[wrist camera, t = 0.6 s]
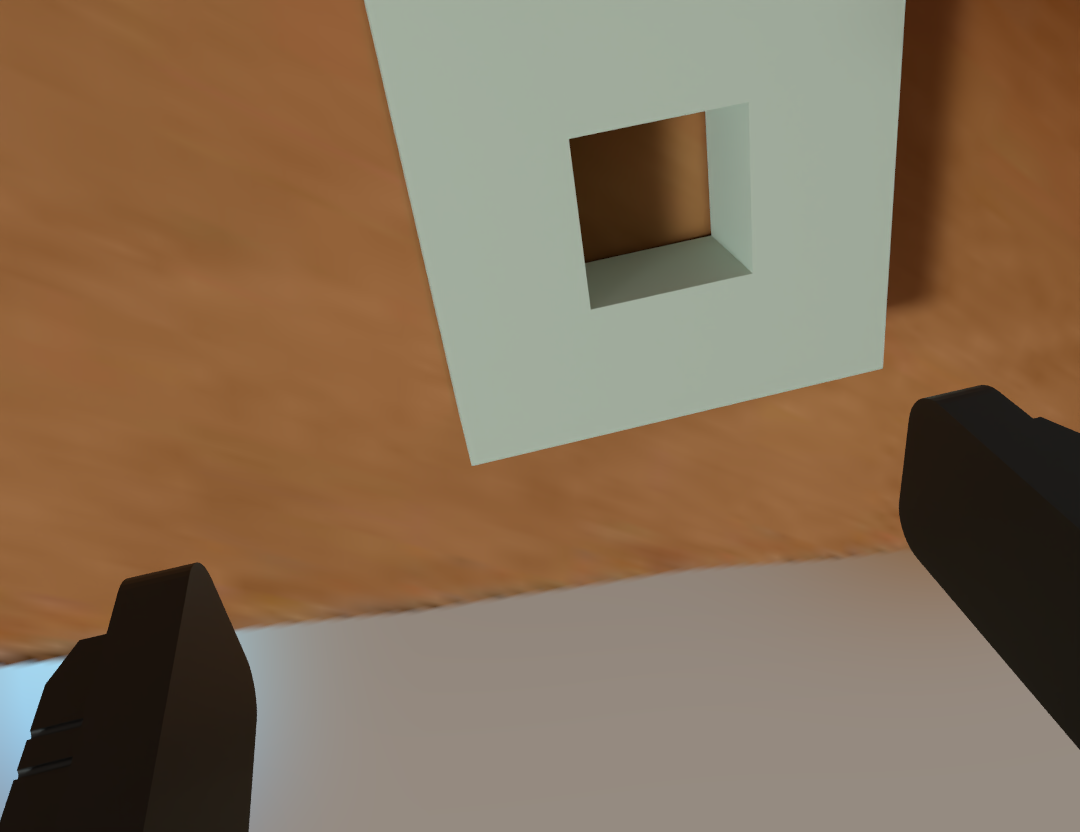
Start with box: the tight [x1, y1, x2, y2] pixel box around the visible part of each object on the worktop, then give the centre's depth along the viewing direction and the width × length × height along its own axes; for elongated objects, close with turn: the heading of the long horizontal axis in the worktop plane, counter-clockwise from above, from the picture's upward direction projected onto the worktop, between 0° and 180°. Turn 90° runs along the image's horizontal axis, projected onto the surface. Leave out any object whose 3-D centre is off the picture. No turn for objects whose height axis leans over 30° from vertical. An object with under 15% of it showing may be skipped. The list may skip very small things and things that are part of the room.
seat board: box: [364, 0, 906, 466], centre depth 31 cm, size 16×16×4 cm
